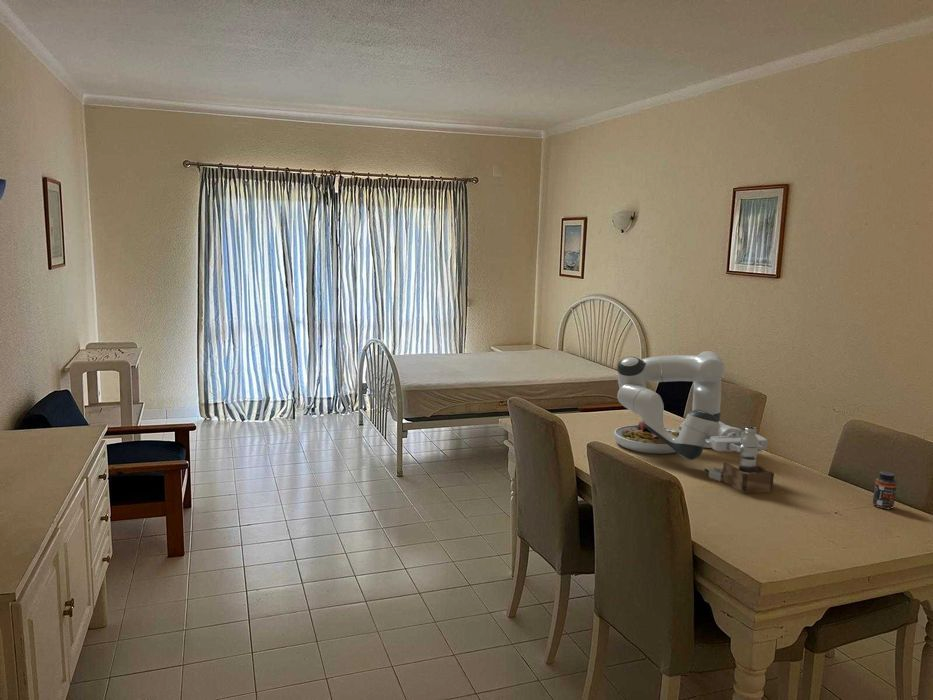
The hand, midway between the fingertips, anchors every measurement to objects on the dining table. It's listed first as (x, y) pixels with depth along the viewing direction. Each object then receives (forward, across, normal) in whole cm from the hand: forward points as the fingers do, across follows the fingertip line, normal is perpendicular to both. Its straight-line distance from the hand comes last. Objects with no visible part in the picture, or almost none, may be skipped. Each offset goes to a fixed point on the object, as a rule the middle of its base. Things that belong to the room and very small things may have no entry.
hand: (751, 449), depth 242 cm
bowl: (-53, -11, +14) cm, 56 cm away
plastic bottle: (-1, 0, +13) cm, 13 cm away
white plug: (-10, -6, +14) cm, 18 cm away
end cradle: (-1, 0, +14) cm, 14 cm away
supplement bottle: (+23, +34, +14) cm, 44 cm away
